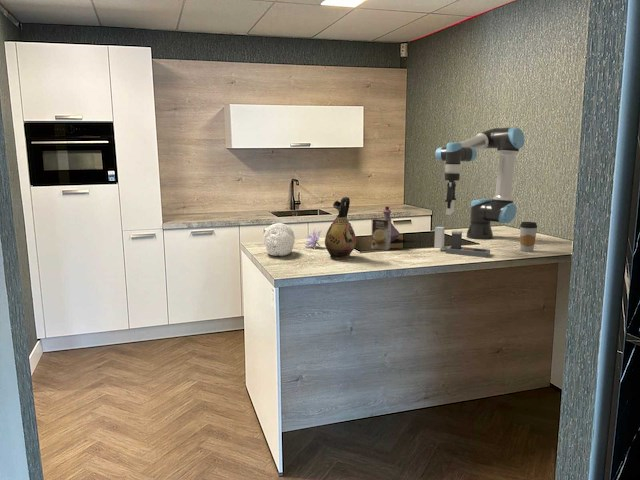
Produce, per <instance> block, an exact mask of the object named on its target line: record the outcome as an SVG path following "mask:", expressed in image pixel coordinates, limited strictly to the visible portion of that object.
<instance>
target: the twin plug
mask: <svg viewBox="0 0 640 480" xmlns="http://www.w3.org/2000/svg"><path fill="white" fill-rule="evenodd" d="M462 237H463V230H452V231H451V244H450V246H451V249H461V247H462V242H463V241H462Z"/></svg>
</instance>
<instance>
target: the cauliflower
mask: <svg viewBox="0 0 640 480" xmlns="http://www.w3.org/2000/svg"><path fill="white" fill-rule="evenodd" d="M262 239H263V245H264V247H265V250H266V252H267V253H268V254H269V255H270V256H272V257H278V256H280V257H285V256H287V255H289V254H291V252H292V251H293V249H294V245H295V243H296V242H295V239H296V238H295V234H294V231H293V229H292V228H291V226H289V225H288V224H285V223H281V222H278V223H273V224H271V225H268V227H267V228H266V230H265V231H264V234H263V237H262Z"/></svg>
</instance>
